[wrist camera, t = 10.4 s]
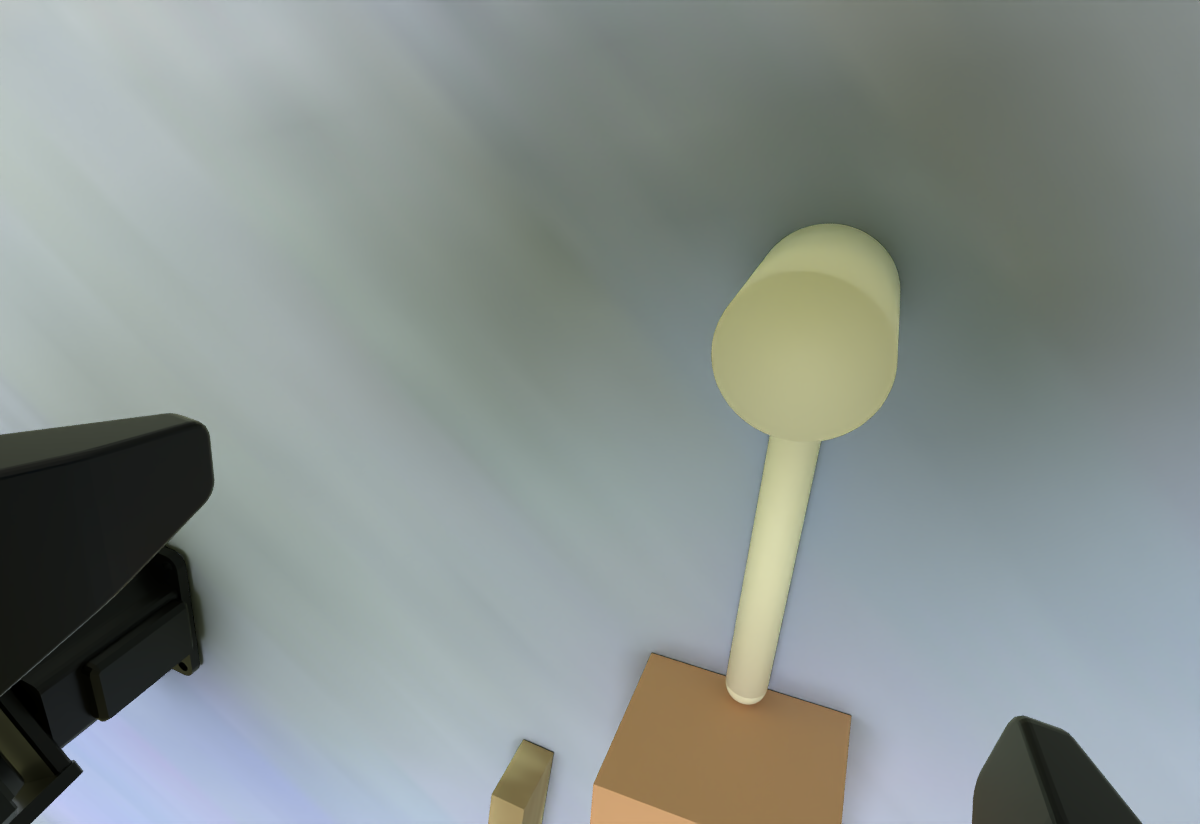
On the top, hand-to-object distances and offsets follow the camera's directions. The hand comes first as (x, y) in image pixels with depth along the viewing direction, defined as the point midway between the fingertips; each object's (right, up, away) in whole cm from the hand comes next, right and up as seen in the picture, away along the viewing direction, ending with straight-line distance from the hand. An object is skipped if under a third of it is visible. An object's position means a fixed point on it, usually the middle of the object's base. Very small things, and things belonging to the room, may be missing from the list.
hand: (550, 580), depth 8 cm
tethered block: (+5, -3, +13) cm, 14 cm away
